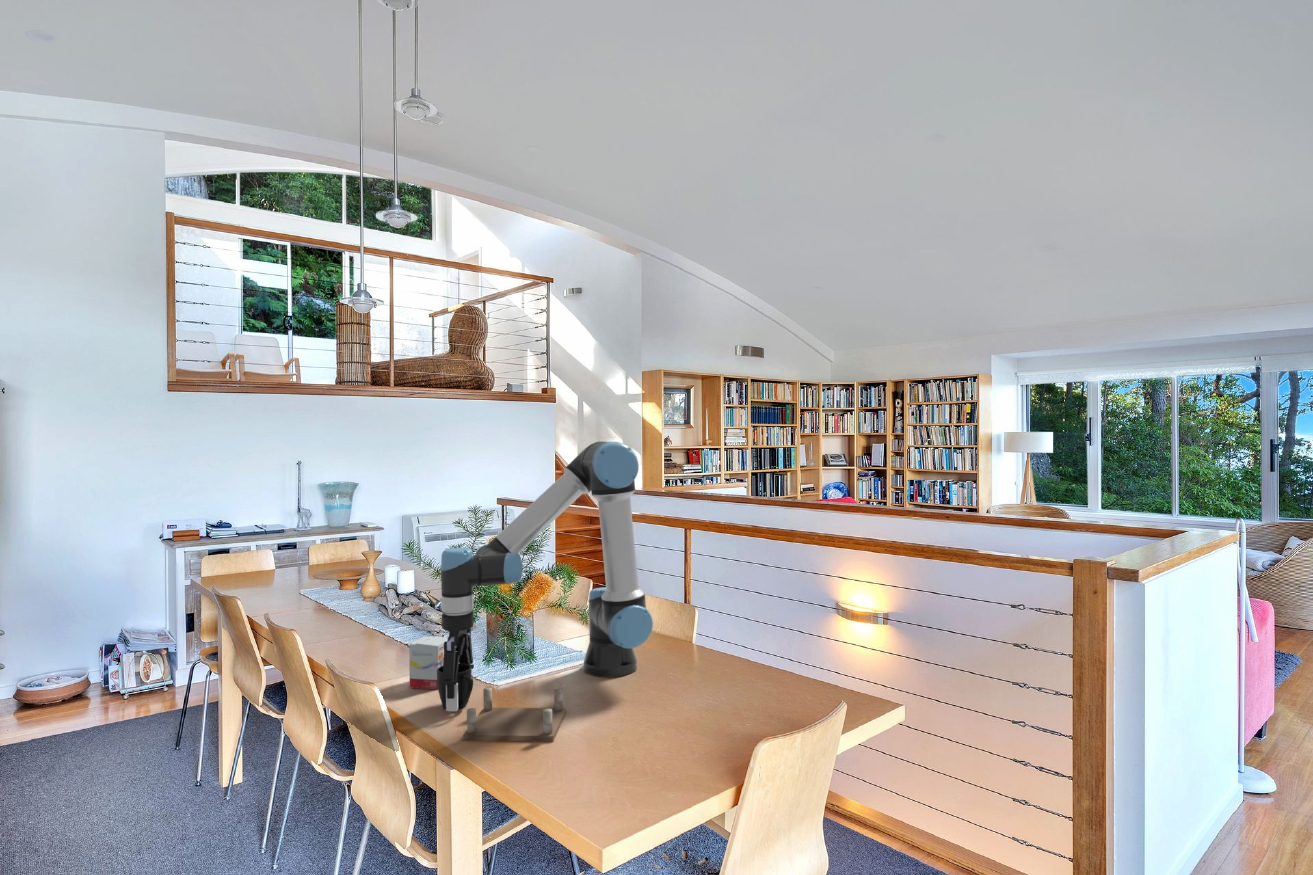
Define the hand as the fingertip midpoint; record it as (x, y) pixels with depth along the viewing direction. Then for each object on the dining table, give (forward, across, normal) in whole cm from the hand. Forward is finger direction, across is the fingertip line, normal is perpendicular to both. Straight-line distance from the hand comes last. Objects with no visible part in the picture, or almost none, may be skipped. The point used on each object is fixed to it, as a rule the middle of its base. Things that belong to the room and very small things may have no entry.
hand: (458, 702), depth 181 cm
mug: (+1, +1, 0) cm, 2 cm away
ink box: (+1, -17, -13) cm, 21 cm away
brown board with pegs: (+1, +11, +17) cm, 21 cm away
